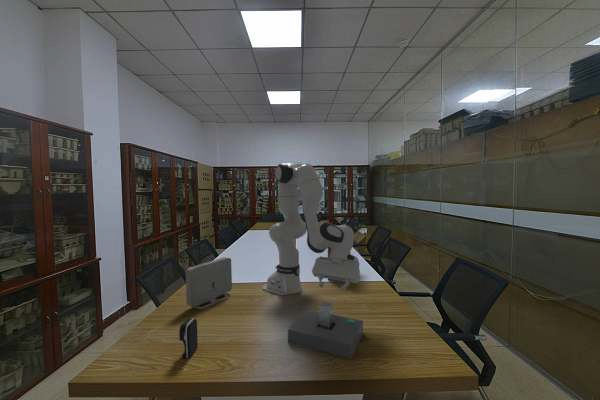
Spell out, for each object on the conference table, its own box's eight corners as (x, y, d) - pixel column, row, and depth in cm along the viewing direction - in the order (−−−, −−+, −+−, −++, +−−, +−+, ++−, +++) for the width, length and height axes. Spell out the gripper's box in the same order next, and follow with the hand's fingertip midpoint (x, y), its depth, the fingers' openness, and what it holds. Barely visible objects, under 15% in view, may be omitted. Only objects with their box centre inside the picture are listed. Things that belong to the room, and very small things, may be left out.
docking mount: (288, 342, 102) (287, 328, 101) (307, 320, 118) (307, 308, 118) (351, 359, 91) (351, 343, 91) (363, 332, 108) (363, 319, 107)
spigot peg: (319, 336, 104) (319, 305, 103) (323, 331, 107) (323, 301, 107) (329, 338, 102) (329, 307, 101) (333, 333, 106) (332, 303, 105)
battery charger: (188, 346, 100) (187, 316, 99) (198, 347, 99) (197, 316, 99) (178, 359, 93) (177, 326, 92) (189, 359, 92) (188, 326, 92)
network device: (194, 312, 127) (193, 270, 126) (183, 308, 132) (181, 267, 131) (235, 294, 149) (234, 257, 148) (223, 291, 153) (222, 255, 152)
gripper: (315, 252, 121) (306, 280, 113) (360, 257, 113) (354, 289, 104) (318, 259, 126) (310, 287, 117) (363, 265, 117) (357, 296, 109)
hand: (331, 288), depth 111 cm, fingers open, 8 cm apart
